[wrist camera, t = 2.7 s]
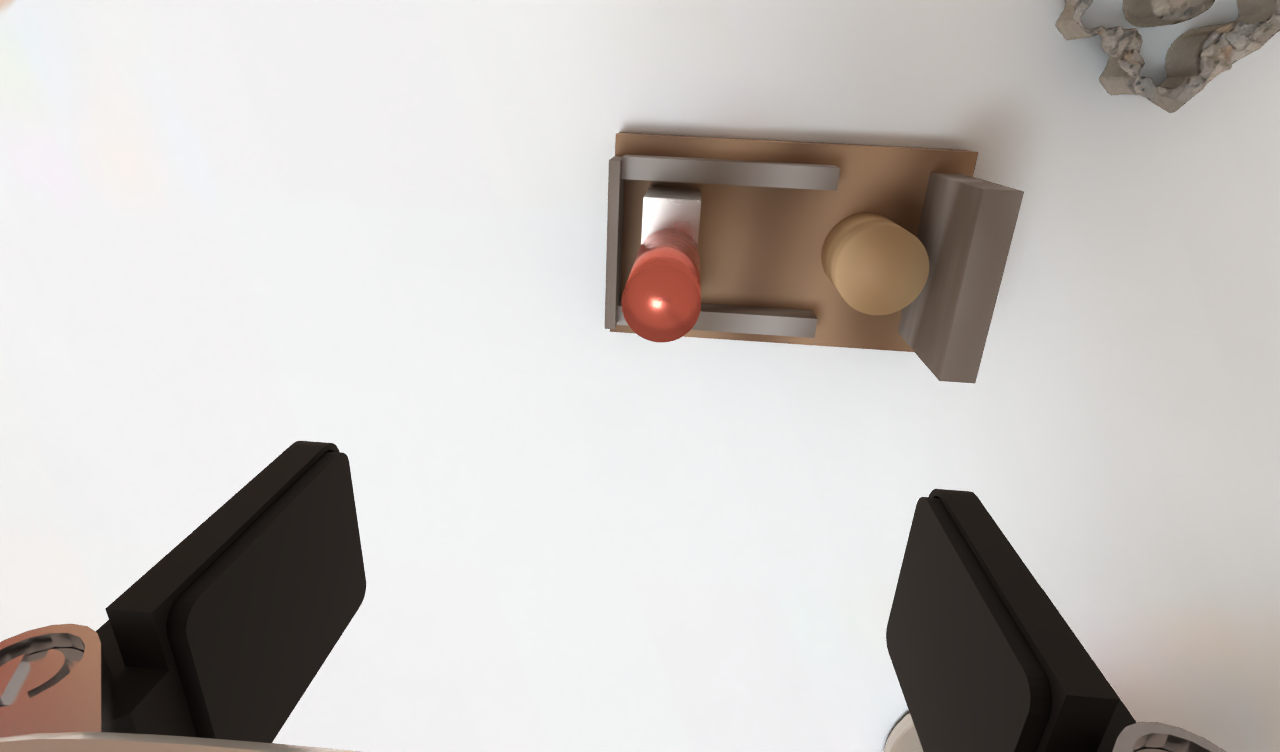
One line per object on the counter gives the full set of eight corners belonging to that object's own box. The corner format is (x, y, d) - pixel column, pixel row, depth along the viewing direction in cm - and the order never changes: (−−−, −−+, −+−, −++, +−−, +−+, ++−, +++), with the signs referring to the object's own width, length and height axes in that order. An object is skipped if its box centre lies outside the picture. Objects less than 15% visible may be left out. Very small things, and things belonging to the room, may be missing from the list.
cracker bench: (966, 150, 33) (1044, 165, 26) (924, 343, 37) (981, 405, 29) (619, 132, 34) (597, 142, 26) (613, 323, 38) (593, 377, 30)
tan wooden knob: (910, 214, 33) (938, 229, 29) (895, 294, 34) (919, 318, 31) (827, 210, 33) (844, 224, 29) (815, 289, 35) (829, 312, 31)
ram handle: (703, 189, 33) (707, 229, 23) (695, 296, 35) (694, 378, 25) (646, 185, 33) (624, 224, 23) (641, 293, 35) (618, 373, 25)
